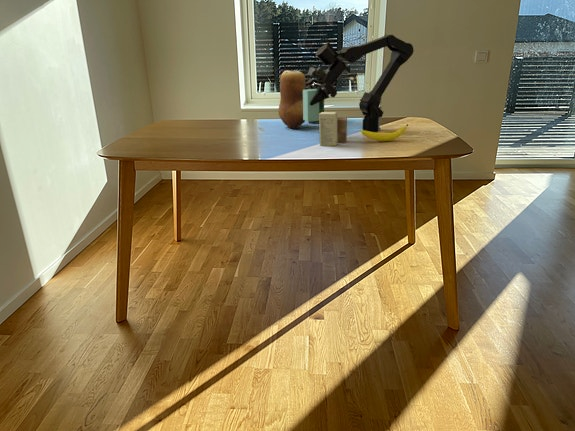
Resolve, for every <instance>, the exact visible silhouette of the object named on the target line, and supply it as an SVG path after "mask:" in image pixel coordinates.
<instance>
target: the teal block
mask: <svg viewBox="0 0 575 431" xmlns="http://www.w3.org/2000/svg"><path fill="white" fill-rule="evenodd" d="M316 93H317V90H316V89H308V88H307V89H305V90H303V120H305V122H307V123H309V122H311V121H319V102H318V103H316V104H314V105H312V106H311V105H310V102H311V100H312V99H313V97H314V96H315V94H316Z"/></svg>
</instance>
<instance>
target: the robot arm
mask: <svg viewBox="0 0 575 431" xmlns="http://www.w3.org/2000/svg"><path fill="white" fill-rule="evenodd" d="M385 47H386V48H387V49H388V50H389V51H391V53H390V59H389V62H388V64H387V65H386V67H385V69H384V70H383V72H382V73H381V75H380V76H379V78H378V79H377V81H376V83H375V85H374V86H373V88H372V89H371V91H369V92H364V93H363V94H362V96H361V98H360V99H359V101H360V102H359V104H358V105H359V110H360V111H361V114H362V116H364V118H363V119H362V130H365V131H370V132H374V133H379V131H380V130H381V127H380V124H381V122H380V121H381V118H382V117H383V115H384V111H383V110H382V109H381V108H380V106H381V103H382V97H383V94H384V93H385V91H386V90H387V88H388V87H389V85H390V83H391V81H392V80H393V78H394V77H395V75H396V74H397V72H398V71H399V69H400V68H401V66H402V65H404V64H405V63H407V61H409V59H410V58H411V57H412V56H413V54H414V52H415V50H414V46H413V45H412V43H409V42H406V41H404V40H401V39H400V38H398V37H396V36H395V35H394V34H385V35H383V36H381V37H378V38H376V39H373V40H370V41H368V42H365V43H362V44H358V45H349V46H344V47H342V48H341V49H340V50H337V51H336V49H335V48H334V47H333V45H332V44H331V43H330V42H326V43H325V44H323V45H322V46H321V47H319V48H318V50H317V51H316V52H315V56H316V58H318V59H319V60H320V62H322V64H323V65H324V66H328V68H327V69H326V70H324V68H323V67H320V66H318V68H315V67H309V69H308V72H307V76H309V77H312V78H309V79H308V80H307V81H306V85H307V86H308V85H309V89H316V90H317V93H316V94H315V96H314V97H313V99H312V100H311V102H310V105H311V106H312V105H314V104H316V103H318V102H320V101H322V100H324V101H325V100H326V99H327V100H328V99H330V97H331V98H335V97H336V96H337V94H338V90H337V89H336V88H335V86H334V84H338V82H339V78H340V77H341V76H342V75H343V73H348V74H350V73H351V65H349V64H348V65H347V64H346V63H351V64H352V63H355V62H357V61H359V60H360V59H361V58H363V57H364V56H366V55H368V54H370V53H372V52H375V51H378V50H380V49H383V48H385Z"/></svg>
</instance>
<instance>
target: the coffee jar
mask: <svg viewBox="0 0 575 431" xmlns="http://www.w3.org/2000/svg"><path fill="white" fill-rule="evenodd" d="M307 89H309V85H308V84H307ZM321 112H325V100H322V101H320V102H319V114H320V113H321ZM308 123H309V124H311V123H312V124H318V123H319V121H311V122H308Z"/></svg>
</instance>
